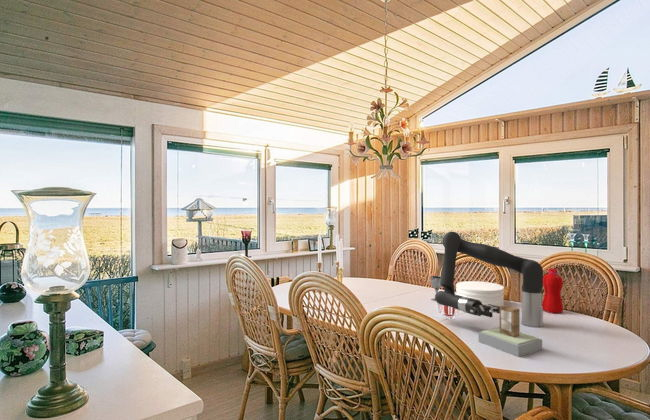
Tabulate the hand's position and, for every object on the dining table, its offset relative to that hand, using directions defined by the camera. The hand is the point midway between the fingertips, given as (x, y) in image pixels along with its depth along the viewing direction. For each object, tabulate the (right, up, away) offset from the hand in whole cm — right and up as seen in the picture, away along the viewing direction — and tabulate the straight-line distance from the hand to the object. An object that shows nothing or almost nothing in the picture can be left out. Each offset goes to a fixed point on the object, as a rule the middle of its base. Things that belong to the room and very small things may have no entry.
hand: (498, 313), depth 178 cm
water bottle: (+53, -12, +48) cm, 72 cm away
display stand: (+3, -13, -5) cm, 14 cm away
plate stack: (+18, -12, +68) cm, 71 cm away
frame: (+3, -8, -5) cm, 10 cm away
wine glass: (-6, -12, +77) cm, 78 cm away
